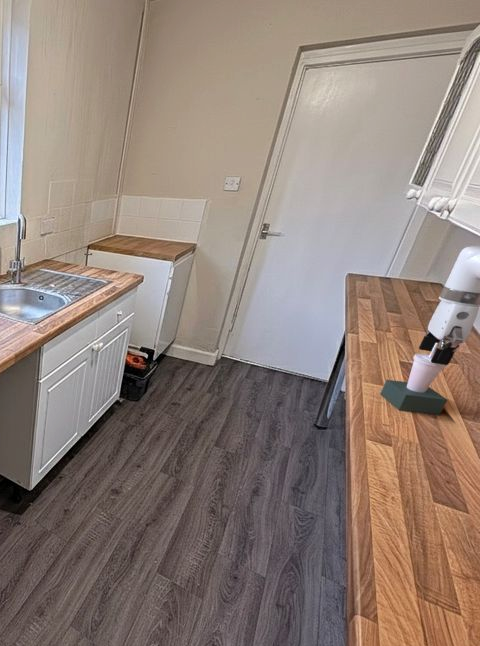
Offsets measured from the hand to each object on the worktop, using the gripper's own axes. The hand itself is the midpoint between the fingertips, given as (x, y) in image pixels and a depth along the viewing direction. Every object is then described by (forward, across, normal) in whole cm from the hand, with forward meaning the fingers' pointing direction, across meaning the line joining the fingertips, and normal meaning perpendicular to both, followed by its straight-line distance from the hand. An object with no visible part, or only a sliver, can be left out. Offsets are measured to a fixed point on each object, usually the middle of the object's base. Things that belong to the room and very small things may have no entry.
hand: (432, 356), depth 111 cm
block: (+15, 0, 0) cm, 15 cm away
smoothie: (+10, 0, 0) cm, 10 cm away
